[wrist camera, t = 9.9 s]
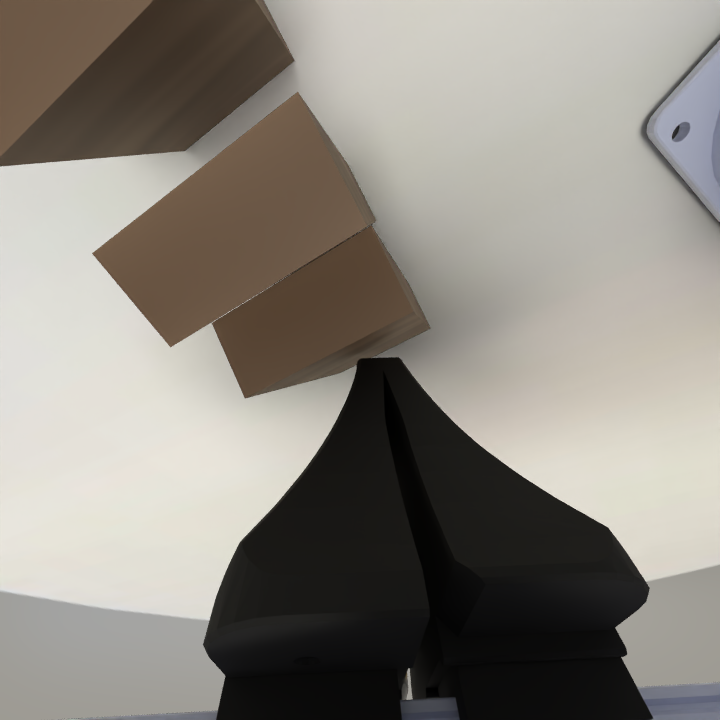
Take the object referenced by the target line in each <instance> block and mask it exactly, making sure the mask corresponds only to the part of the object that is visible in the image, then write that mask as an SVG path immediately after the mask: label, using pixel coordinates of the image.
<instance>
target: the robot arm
mask: <svg viewBox="0 0 720 720" xmlns="http://www.w3.org/2000/svg"><path fill="white" fill-rule="evenodd" d="M678 125H679V127H680V128H679V132H678V134H677V135H676V137H675V138H674V139H672V133H673V131H674V130H675V128H676V127H677V126H678ZM647 135H648V137H649V139H650V140H651V141H652V143H653V144H654V145H655V146H656V147H657V149H658V150H659V151H660V152H661V153H662V154H663V156H664V157H665V158H666V159H667V160H668V162H669V163H670V164H671V165H672V166H673V168H674V169H675V170H676V171H677V172H678V174H679V175H680V176H681V177H682V178H683V179H684V181H685V182H686V183H687V184H688V185H689V187H690V188H691V189H692V190H693V191H694V193H695V194H696V195H697V196H698V197H699V199H700V200H701V201H702V202H703V203H704V205H705V206H706V207H707V208H708V209H709V210H710V212H711V213H712V214H713V215H714V216H715V218H716V219H717V220H718V221H719V222H720V40H719V41H718V42H717V44H716V45H715V46H714V47H713V48H712V49H711V50H710V51H709V52H708V54H707V55H706V56H705V57H704V58H703V59H702V60H701V61H700V62H699V63H698V65H697V66H696V67H695V68H694V69H693V70H692V71H691V72H690V73H689V75H688V76H687V77H686V78H685V79H684V80H683V81H682V82H681V83H680V85H679V86H678V87H677V88H676V89H675V90H674V91H673V92H672V93H671V95H670V96H669V97H668V98H667V99H666V100H665V101H664V102H663V103H662V105H661V106H660V107H659V108H658V109H657V110H656V111H655V112H654V114H653V115H652V117H651V118H650V120H649V123H648V125H647ZM648 593H649V587H648V585H647V583H646V581H645V580H644V578H643V577H642V575H641V574H640V572H639V571H638V569H637V568H636V566H635V565H634V563H633V562H632V560H631V559H630V557H629V556H628V554H627V552H626V551H625V550H624V548H623V547H622V546H621V544H620V543H619V541H618V540H617V539H616V537H615V536H614V535H613V533H612V532H611V531H610V530H609V528H608V527H606V526H604V525H603V524H601V523H599V522H597V521H595V520H594V519H592V518H590V517H588V516H587V515H585V514H583V513H581V512H580V511H578V510H576V509H574V508H573V507H571V506H569V505H567V504H566V503H564V502H562V501H560V500H558V499H557V498H555V497H553V496H552V495H550V494H549V493H547V492H545V491H544V490H542V489H541V488H539V487H538V486H536V485H535V484H533V483H531V482H530V481H528V480H527V479H525V478H524V477H522V476H521V475H519V474H518V473H516V472H515V471H514V470H512V469H511V468H509V467H508V466H507V465H505V464H504V463H502V462H501V461H500V460H498V459H497V458H496V457H494V456H493V455H492V454H490V453H489V452H488V451H486V450H485V449H484V448H483V447H481V446H480V445H479V444H478V443H476V442H475V441H474V440H473V439H472V438H471V437H469V436H468V435H467V434H466V433H465V432H464V431H463V430H461V429H460V428H459V427H458V426H457V425H456V424H455V423H454V422H453V421H452V420H451V419H450V418H449V417H448V416H447V415H446V414H445V413H444V412H443V411H442V410H441V409H440V408H439V407H438V405H437V404H436V403H435V402H434V401H433V400H432V399H431V398H430V396H429V395H428V394H427V393H426V392H425V391H424V389H423V388H422V387H421V386H420V385H419V383H418V382H417V381H416V379H415V378H414V377H413V376H412V374H411V373H410V372H409V370H408V369H407V367H406V366H405V365H404V363H403V362H402V360H401V359H400V358H399V357H396V358H361V359H359V360H358V361H357V370H356V374H355V378H354V381H353V384H352V387H351V390H350V392H349V395H348V397H347V400H346V402H345V404H344V406H343V408H342V410H341V412H340V414H339V416H338V418H337V420H336V422H335V424H334V426H333V428H332V429H331V431H330V433H329V435H328V436H327V438H326V439H325V441H324V443H323V444H322V446H321V447H320V449H319V450H318V452H317V453H316V455H315V456H314V457H313V459H312V460H311V462H310V463H309V465H308V466H307V467H306V469H305V470H304V471H303V473H302V474H301V475H300V476H299V478H298V479H297V480H296V481H295V482H294V484H293V485H292V486H291V487H290V488H289V490H288V491H287V492H286V493H285V494H284V496H283V497H282V498H281V499H280V500H279V502H278V503H277V504H276V505H275V506H274V507H273V508H272V509H271V510H270V511H269V512H268V514H267V515H266V516H265V517H264V518H263V519H262V520H261V521H260V522H259V523H258V524H257V525H256V526H255V527H254V528H253V529H252V530H251V531H250V532H249V533H248V534H247V535H246V536H245V537H244V538H243V540H242V541H241V542H240V543H239V545H238V547H237V549H236V551H235V553H234V555H233V557H232V559H231V562H230V564H229V566H228V568H227V571H226V573H225V575H224V578H223V580H222V583H221V586H220V588H219V591H218V593H217V596H216V599H215V603H214V606H213V610H212V614H211V617H210V621H209V625H208V628H207V632H206V636H205V639H204V643H203V645H204V647H205V650H206V652H207V654H208V656H209V658H210V659H211V660H212V661H213V662H214V663H215V664H216V666H217V667H218V668H219V669H220V670H221V671H222V672H223V673H224V674H225V676H226V677H225V681H224V686H223V690H222V694H221V699H220V704H219V708H218V711H203V712H185V713H166V714H151V715H150V714H149V715H131V716H114V717H96V718H78V719H61V720H720V682H714V683H697V684H679V685H661V686H645V687H637V686H636V685H635V683H634V681H633V679H632V677H631V675H630V673H629V671H628V670H627V668H626V666H625V664H624V662H623V660H622V658H621V657H624V656H625V655H627V651H626V647H625V645H624V644H623V642H622V640H621V638H620V636H619V634H618V633H617V631H616V629H615V627H616V626H617V625H619V624H620V623H621V622H623V621H624V620H625V619H627V618H628V617H629V616H630V615H632V614H633V613H634V612H636V611H637V610H638V609H639V608H640V607H641V606H642V605H643V604H644V603H645V602H646V600H647V597H648ZM408 668H410V676H411V688H412V696H413V700H402V686H403V683H404V680H405V677H406V673H407V670H408Z"/></svg>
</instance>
